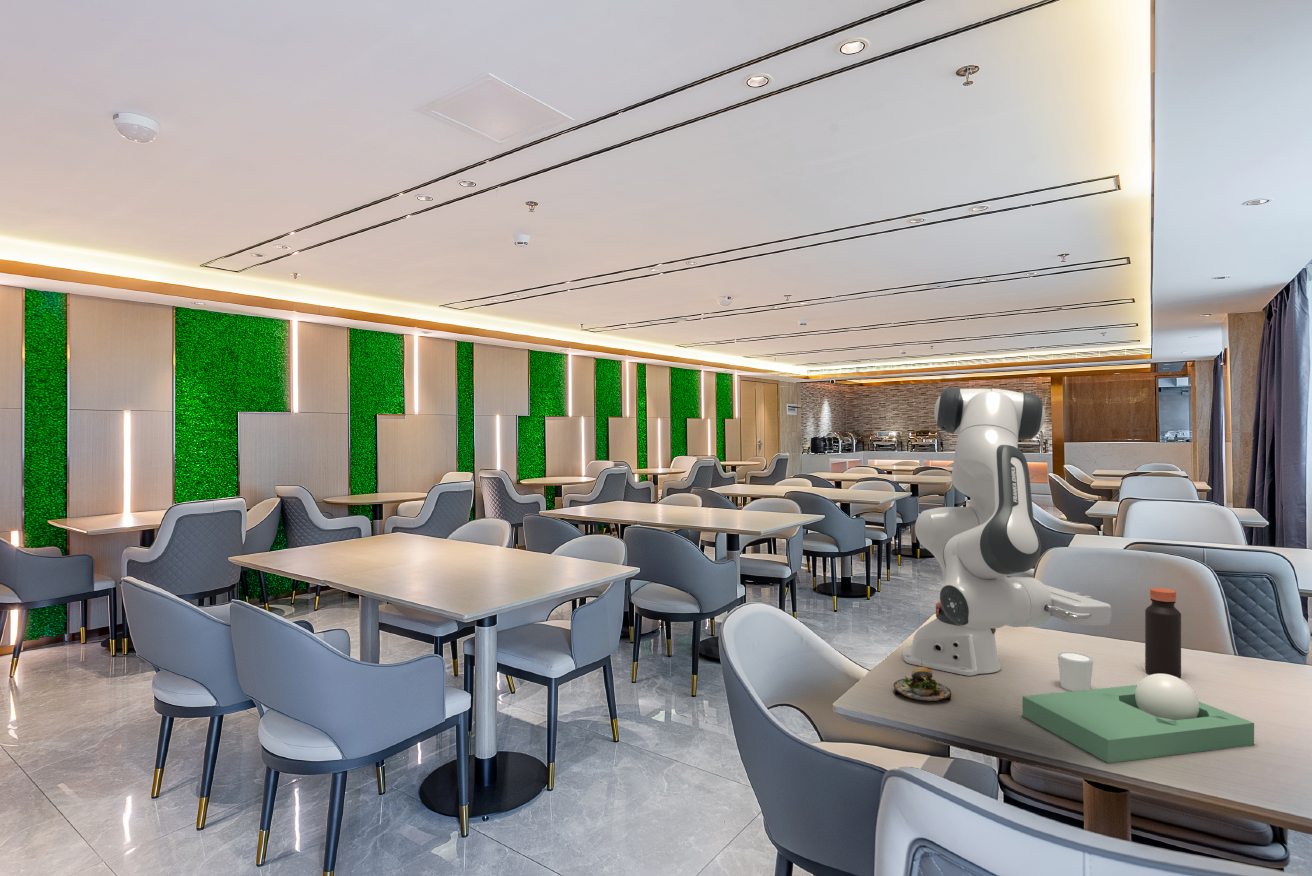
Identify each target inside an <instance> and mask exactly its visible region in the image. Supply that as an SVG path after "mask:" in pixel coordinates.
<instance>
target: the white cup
mask: <svg viewBox="0 0 1312 876" xmlns="http://www.w3.org/2000/svg"><path fill="white" fill-rule="evenodd" d="M1057 661H1058V669H1059V670H1058V671H1059V680H1060V687H1061V688H1062V689H1065V690H1067V691H1069V692H1070V691H1080V690H1091V686H1092V685H1091V684H1092V678H1093V666H1094V659H1093V658H1092V657H1091V656H1088V655H1086V654H1082V653H1077V652H1067V651H1066V652H1060V653H1057Z"/></svg>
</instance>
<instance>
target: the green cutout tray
mask: <svg viewBox="0 0 1312 876" xmlns="http://www.w3.org/2000/svg"><path fill="white" fill-rule="evenodd" d="M1137 685H1138V684H1133V685H1122V686H1114V687H1113V686H1112V687H1103V688H1102V687H1101V688H1093V689H1092V688H1090V690H1080V691H1070V690H1069V691H1063V692H1061V691H1060V692H1053V693H1052V692H1051V693H1043V694H1033V695H1023V696H1022V717H1024V718H1025V719H1027V720H1029V721H1031V722H1033V723H1035V724H1036V725H1038V726H1040V727H1042V728H1044V729H1045V730H1047V731H1049V732H1051V733H1053V734H1055V735H1056V736H1058V737H1060V738H1062V739H1064V740H1065V741H1067V742H1069V743H1071V744H1073V745H1075V746H1076V747H1079V748H1080V749H1081V750H1083V751H1085V752H1087V753H1090V755H1092V756H1094V757H1096V758H1098V759H1099V760H1102V761H1104V762H1105V763H1107V764H1111V763H1119V762H1127V761H1135V760H1143V759H1151V758H1158V757H1161V758H1162V757H1166V756H1167V757H1168V756H1175V755H1182V754H1192V753H1198V752H1199V753H1200V752H1205V751H1215V750H1223V749H1230V748H1238V747H1245V746H1252V745H1255V722H1253V721H1251V720H1249V719H1246V718H1243V717H1241V716H1237V715H1235V714H1232V713H1230V712H1228V711H1224V710H1223V709H1220V708H1217V707H1215V706H1212V705H1209V704H1206V703H1204V702H1202V701H1199V713H1198V716H1197V717H1196V718H1192V719H1183V720H1171V719H1166V718H1160V717H1155V716H1153V715H1151V714H1148V713H1146V712H1144V711H1142V710H1140V709H1139V708H1138V706H1137V703H1136V700H1135V690H1136V687H1137Z"/></svg>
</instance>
